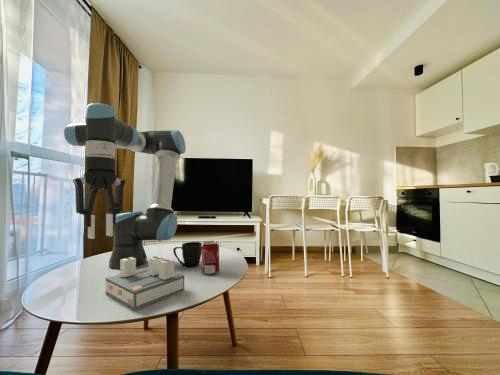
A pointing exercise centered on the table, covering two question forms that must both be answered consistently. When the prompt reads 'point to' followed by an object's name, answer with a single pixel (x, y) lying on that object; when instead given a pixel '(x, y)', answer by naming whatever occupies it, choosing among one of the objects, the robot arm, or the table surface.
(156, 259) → the slider mid
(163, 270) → the slider near
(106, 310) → the table surface
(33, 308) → the table surface
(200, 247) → the mug
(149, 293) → the console
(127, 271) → the block
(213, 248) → the soda can
